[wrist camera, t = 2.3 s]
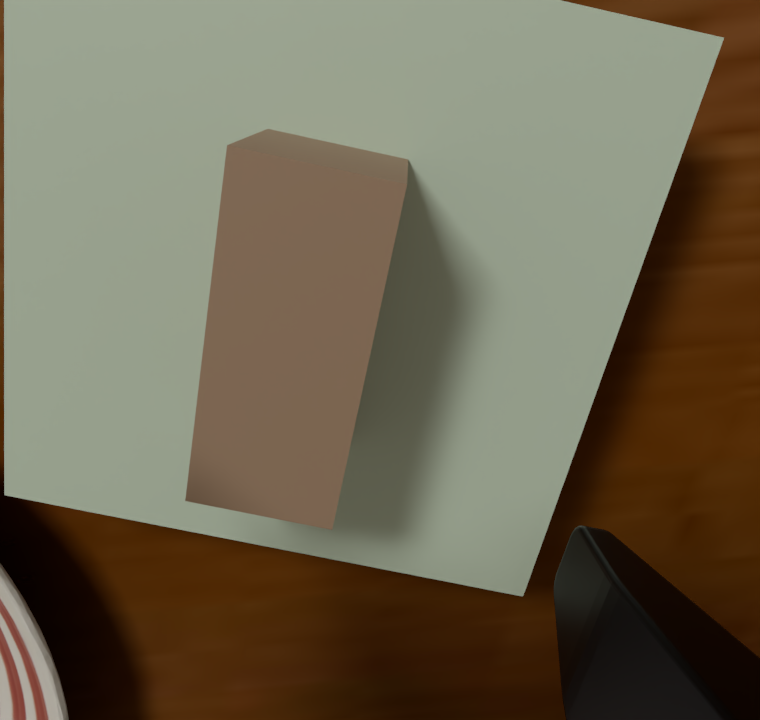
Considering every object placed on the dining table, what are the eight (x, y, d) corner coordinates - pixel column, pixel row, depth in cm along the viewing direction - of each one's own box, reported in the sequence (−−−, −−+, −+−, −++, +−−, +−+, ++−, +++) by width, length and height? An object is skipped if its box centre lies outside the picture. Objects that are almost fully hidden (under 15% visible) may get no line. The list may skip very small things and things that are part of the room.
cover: (708, 39, 14) (820, 28, 10) (518, 577, 20) (545, 704, 16) (26, -117, 14) (-129, -192, 10) (19, 478, 19) (-83, 585, 15)
